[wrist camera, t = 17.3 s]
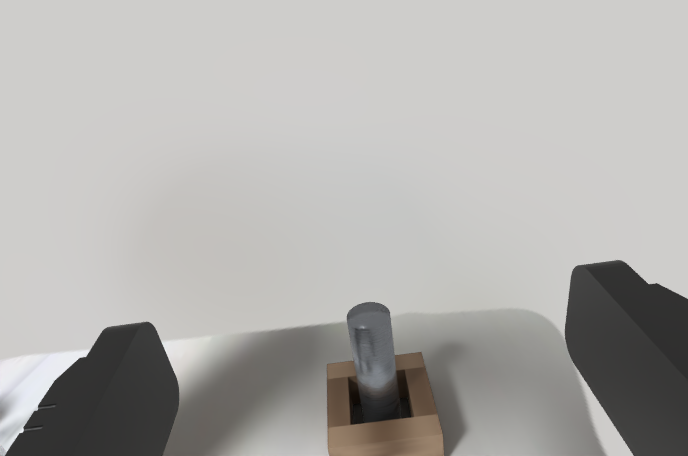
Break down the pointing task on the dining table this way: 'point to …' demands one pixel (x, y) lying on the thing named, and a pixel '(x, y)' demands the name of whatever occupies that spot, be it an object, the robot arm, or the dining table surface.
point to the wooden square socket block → (384, 436)
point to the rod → (374, 361)
